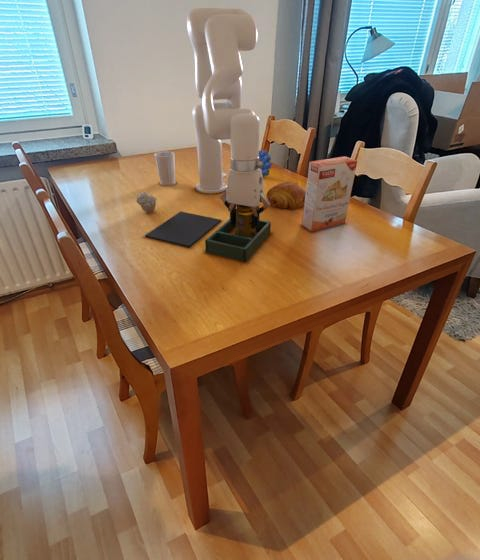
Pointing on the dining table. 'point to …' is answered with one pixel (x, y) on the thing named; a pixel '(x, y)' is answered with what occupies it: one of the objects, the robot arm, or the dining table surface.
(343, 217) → the cracker box
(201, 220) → the mat
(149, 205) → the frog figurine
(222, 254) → the caddy
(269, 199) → the croissant
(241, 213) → the condiment
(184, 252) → the dining table surface
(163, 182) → the cup
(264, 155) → the grapes
